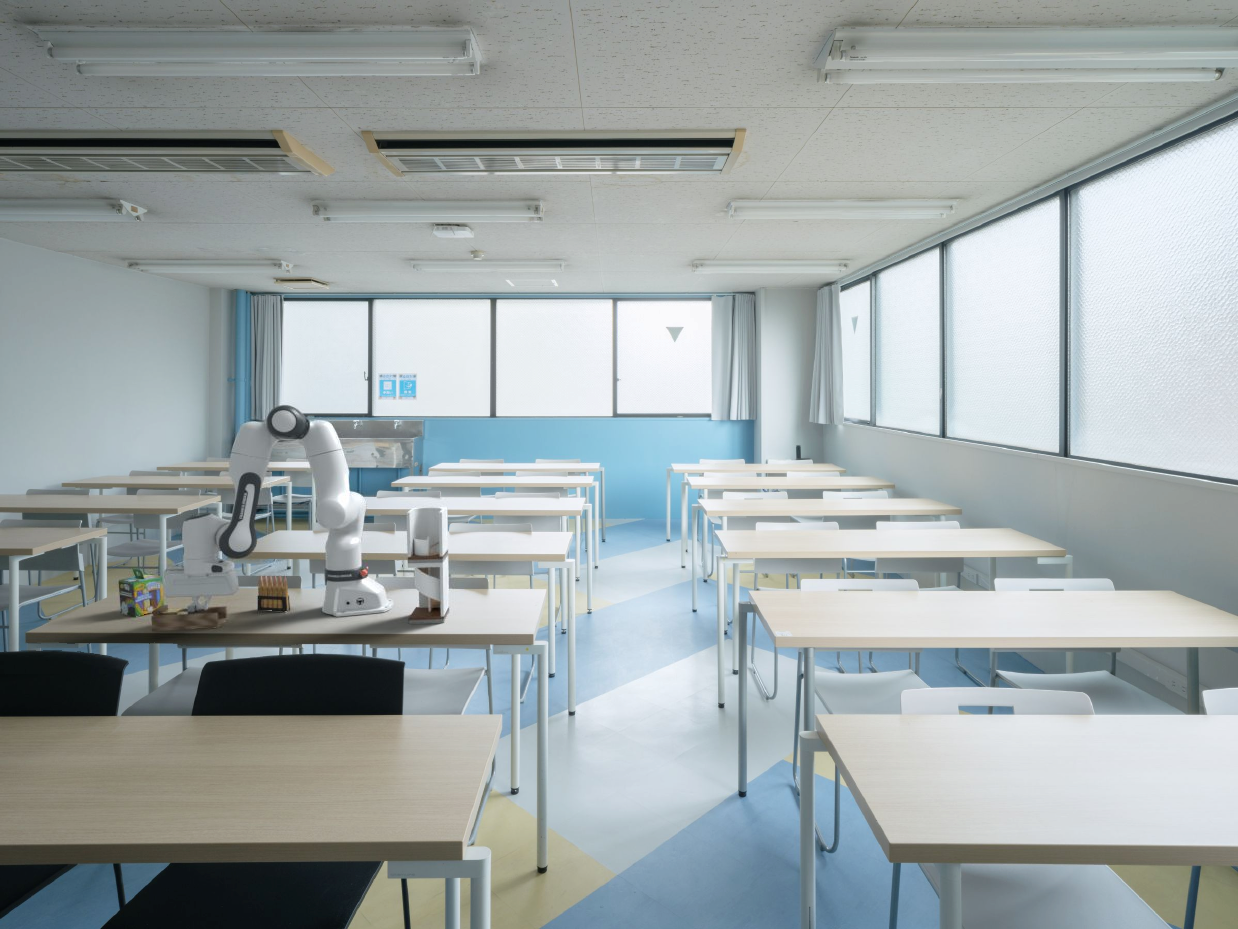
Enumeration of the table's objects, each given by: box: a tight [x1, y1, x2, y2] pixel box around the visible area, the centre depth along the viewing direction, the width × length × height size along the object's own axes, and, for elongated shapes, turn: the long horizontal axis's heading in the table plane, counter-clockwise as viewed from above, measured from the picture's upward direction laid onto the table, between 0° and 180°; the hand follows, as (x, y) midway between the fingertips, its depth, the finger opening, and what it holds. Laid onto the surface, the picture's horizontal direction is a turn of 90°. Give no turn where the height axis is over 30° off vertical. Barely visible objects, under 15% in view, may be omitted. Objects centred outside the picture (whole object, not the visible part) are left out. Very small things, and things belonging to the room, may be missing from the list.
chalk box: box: [118, 567, 165, 618], centre depth 224 cm, size 9×9×15 cm
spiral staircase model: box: [406, 506, 450, 625], centre depth 217 cm, size 11×11×35 cm
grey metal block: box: [179, 602, 201, 614], centre depth 210 cm, size 5×4×6 cm
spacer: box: [163, 607, 184, 615], centre depth 209 cm, size 4×4×4 cm
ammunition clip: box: [257, 574, 291, 612], centre depth 226 cm, size 11×2×12 cm, turn 82°
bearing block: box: [150, 604, 228, 632], centre depth 210 cm, size 18×8×6 cm, turn 100°
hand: (202, 610), depth 210 cm, fingers closed
